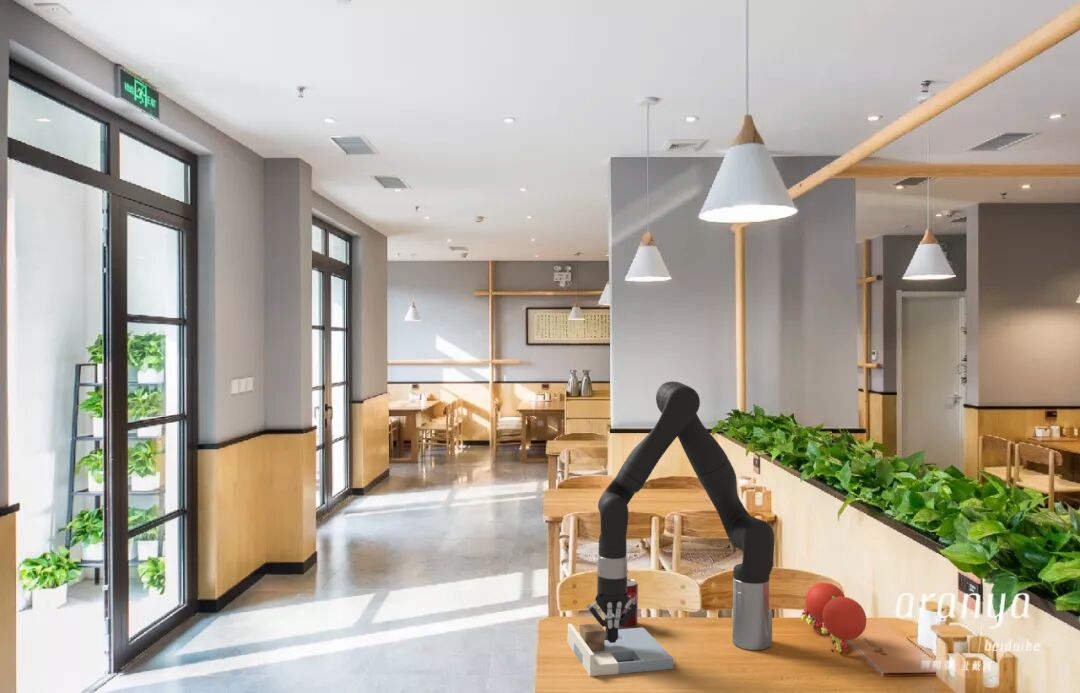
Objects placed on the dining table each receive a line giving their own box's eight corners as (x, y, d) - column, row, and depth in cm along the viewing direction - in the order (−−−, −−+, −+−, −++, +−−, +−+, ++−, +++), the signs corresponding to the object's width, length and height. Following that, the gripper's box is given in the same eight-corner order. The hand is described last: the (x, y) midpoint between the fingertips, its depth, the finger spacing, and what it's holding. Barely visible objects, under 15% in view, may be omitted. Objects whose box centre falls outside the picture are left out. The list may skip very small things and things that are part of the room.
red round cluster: (884, 658, 197) (872, 600, 196) (843, 671, 196) (831, 613, 194) (833, 616, 222) (822, 565, 221) (797, 627, 221) (785, 575, 219)
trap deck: (643, 636, 211) (643, 627, 211) (673, 668, 191) (673, 658, 191) (567, 642, 207) (567, 633, 207) (590, 676, 186) (590, 665, 186)
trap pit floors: (615, 639, 209) (615, 638, 209) (641, 670, 189) (641, 669, 189) (593, 641, 208) (593, 640, 208) (617, 672, 188) (617, 671, 188)
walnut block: (598, 643, 200) (598, 623, 200) (604, 650, 195) (604, 630, 195) (579, 644, 199) (579, 624, 199) (585, 652, 194) (585, 632, 194)
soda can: (636, 630, 216) (636, 586, 216) (610, 628, 217) (610, 585, 217) (638, 621, 223) (638, 579, 223) (612, 619, 224) (613, 577, 224)
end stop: (571, 633, 207) (571, 623, 207) (594, 665, 186) (594, 654, 186) (567, 633, 207) (567, 623, 207) (590, 665, 186) (590, 655, 186)
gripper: (632, 567, 203) (631, 634, 203) (583, 570, 200) (582, 638, 200) (642, 576, 196) (641, 645, 196) (591, 579, 193) (590, 649, 193)
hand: (611, 641), depth 198 cm, fingers closed
